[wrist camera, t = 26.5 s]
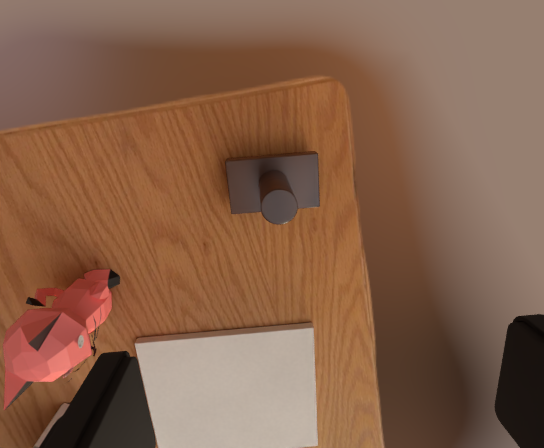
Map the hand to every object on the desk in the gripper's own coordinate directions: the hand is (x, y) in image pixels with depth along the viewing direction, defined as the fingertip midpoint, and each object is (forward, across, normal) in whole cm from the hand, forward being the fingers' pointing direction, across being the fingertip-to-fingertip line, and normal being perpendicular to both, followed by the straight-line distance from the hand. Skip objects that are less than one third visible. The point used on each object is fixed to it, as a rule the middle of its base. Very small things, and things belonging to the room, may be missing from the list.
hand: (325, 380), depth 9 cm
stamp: (+24, 0, 0) cm, 24 cm away
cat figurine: (+24, +18, +9) cm, 32 cm away
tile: (+24, +6, +23) cm, 34 cm away
